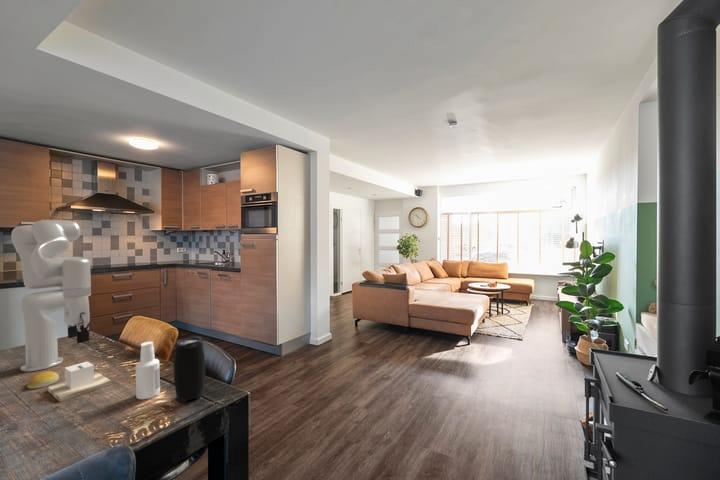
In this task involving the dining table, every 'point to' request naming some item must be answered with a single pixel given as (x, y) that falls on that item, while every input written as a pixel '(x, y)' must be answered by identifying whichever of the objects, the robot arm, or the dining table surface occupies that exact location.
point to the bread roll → (42, 379)
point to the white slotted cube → (79, 375)
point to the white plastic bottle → (147, 373)
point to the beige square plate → (65, 393)
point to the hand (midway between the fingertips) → (78, 339)
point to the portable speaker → (189, 369)
